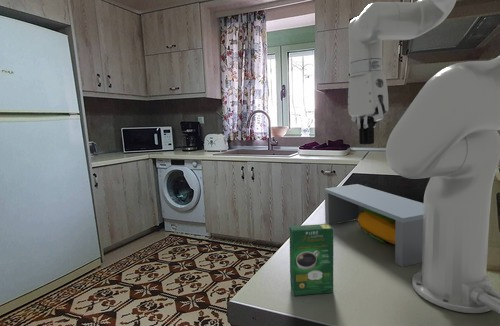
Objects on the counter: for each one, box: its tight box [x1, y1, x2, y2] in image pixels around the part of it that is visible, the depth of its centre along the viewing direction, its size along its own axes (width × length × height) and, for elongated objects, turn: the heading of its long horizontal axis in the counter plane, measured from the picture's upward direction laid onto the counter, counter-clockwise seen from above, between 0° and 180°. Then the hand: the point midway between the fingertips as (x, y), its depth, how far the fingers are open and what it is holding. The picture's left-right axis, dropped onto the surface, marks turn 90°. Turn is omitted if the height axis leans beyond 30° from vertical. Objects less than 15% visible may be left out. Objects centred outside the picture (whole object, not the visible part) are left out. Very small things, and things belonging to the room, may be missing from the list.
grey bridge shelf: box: [324, 191, 423, 268], centre depth 79 cm, size 31×12×10 cm, turn 17°
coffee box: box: [289, 223, 335, 297], centre depth 56 cm, size 8×3×13 cm, turn 93°
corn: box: [357, 209, 396, 245], centre depth 77 cm, size 7×8×20 cm
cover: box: [324, 183, 424, 223], centre depth 78 cm, size 31×12×1 cm, turn 17°
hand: (366, 143), depth 75 cm, fingers closed
